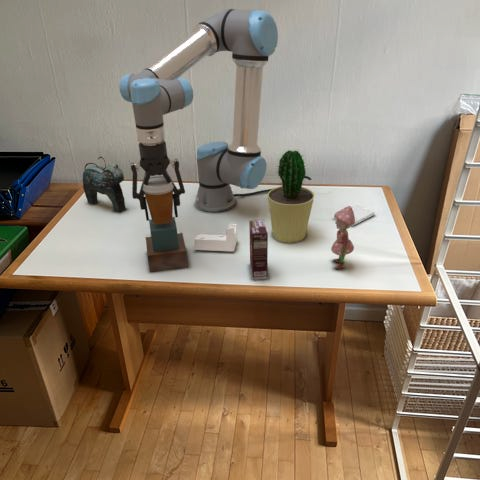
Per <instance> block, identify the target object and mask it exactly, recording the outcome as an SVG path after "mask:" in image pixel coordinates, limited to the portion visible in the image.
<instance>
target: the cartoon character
mask: <svg viewBox="0 0 480 480" xmlns="http://www.w3.org/2000/svg"><path fill="white" fill-rule="evenodd" d="M352 207H353V206H351V205H348V206H346V207H344V208H342V209H340V210H338V211H337V212H335V213H334V215H333V216H334V219H335V218H336V219H337V220H336V219H335V220H336V221H335V222H334V224H335V225H336V229H337V232H336V240H335V241H334V242H333V244H332V245H331V248H330V250H331V252H332V254H334V255H337V256H338V258H334V259H333V258H332V262H335V263H339V264H338V265H336V266H334V269H335V270H339V269H343V268H344V267H345V257H346V255H350V254H351V253H352V252H353V251H354V250H355V246H354V244H353V241H352V240H351V239H349V232H348V230H349V229H350V228H351V227H352V226H351V225H354V224H355V217H354V212H353V209H352ZM354 226H355V225H354ZM347 229H348V230H347Z"/></svg>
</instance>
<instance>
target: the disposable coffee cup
mask: <svg viewBox="0 0 480 480" xmlns="http://www.w3.org/2000/svg"><path fill="white" fill-rule="evenodd" d="M171 180H172V181H173V179H172V178H171ZM173 187H174V186H173V184H172V182H170V183H168V182H167V181H166V179H165V178H164V176H163V175H155V176H150V179H149V181H148V185H145V184H144V185H143V189H142V190H143V191H144V192H145V195H144V197H146V203H147V209H148V212H149V215H150V219H152V221H153V222H154V223H157V224H164V223H168V222H170V221H171V220H172V219H173V217H174V216H173V215H174V213H173V212H174V203H173V194H174V192H173Z"/></svg>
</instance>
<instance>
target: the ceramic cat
mask: <svg viewBox="0 0 480 480" xmlns="http://www.w3.org/2000/svg"><path fill="white" fill-rule="evenodd" d="M100 159H102V160H103V161H104V167H103V166H100V165H98V164H96V163H95V162H87V163H85V165H84V170H83V173H82V184H83V185H82V188H83V192H84V195H85V198H86V201H87V203H88V204H89V205H95V204H97V203H98V194H101V195H105V196H106V197H108V199H109V201H110V202H111V204H112V210H113V211H114V212H118V213H121V212H124V211H125V210H127V208H126V201H125V196H124V192H123V188H122V187H121V183H122V182H124V180H125V176H124V172H123V170H122V169H121V168H120V167H119V164H118V163H116V164H115V165H111V164H110V163H107V165H106V160H105V158H104V156H101V155H100V156H99V157H98V158H97V160H100ZM89 165H91V166H90V167H87V166H89Z"/></svg>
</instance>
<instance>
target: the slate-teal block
mask: <svg viewBox="0 0 480 480" xmlns="http://www.w3.org/2000/svg"><path fill="white" fill-rule="evenodd" d="M148 222H149V230H150V231H149V232H150V237H151V239H152V245H153V251H162V250H170V249H179V242H178V233H179V232H178V226H177V222H176V217H175V216H173V219H172V220H171V221H170V222H168V223H164V224H157V223H154V222H153V221H152V218H150V219H149V221H148Z"/></svg>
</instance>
